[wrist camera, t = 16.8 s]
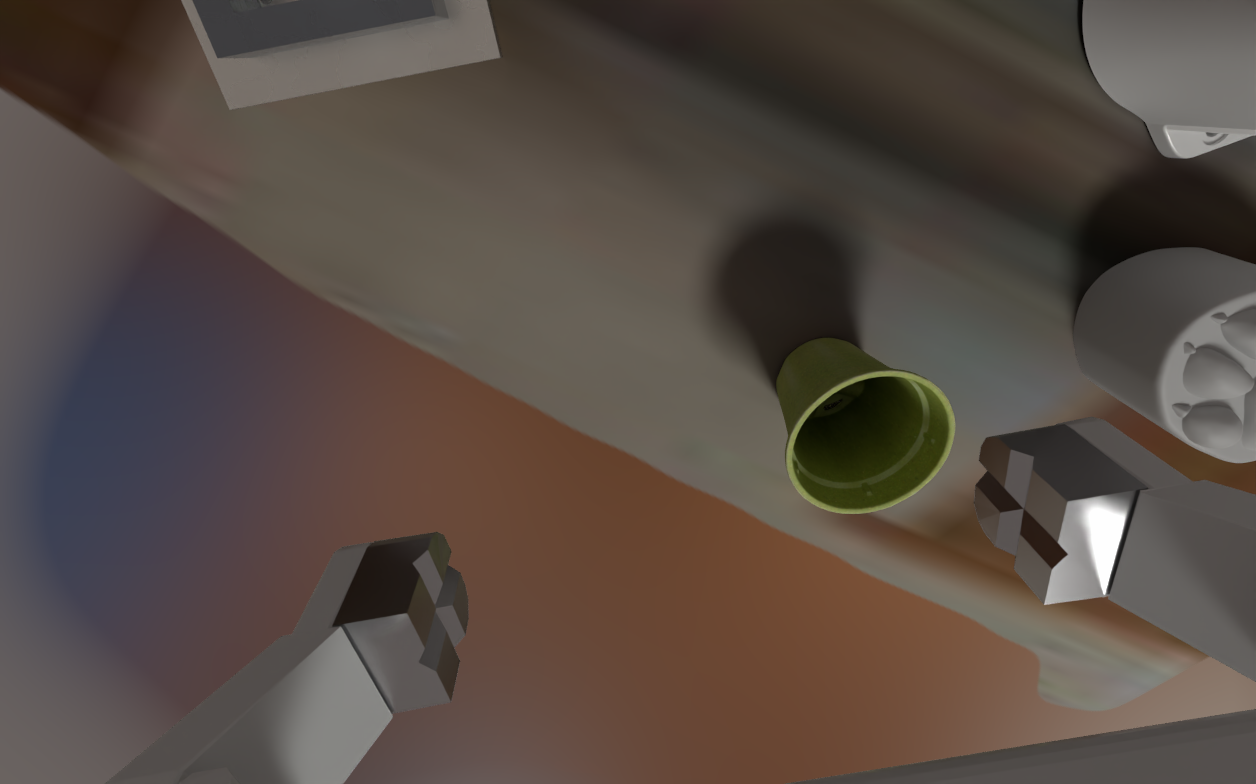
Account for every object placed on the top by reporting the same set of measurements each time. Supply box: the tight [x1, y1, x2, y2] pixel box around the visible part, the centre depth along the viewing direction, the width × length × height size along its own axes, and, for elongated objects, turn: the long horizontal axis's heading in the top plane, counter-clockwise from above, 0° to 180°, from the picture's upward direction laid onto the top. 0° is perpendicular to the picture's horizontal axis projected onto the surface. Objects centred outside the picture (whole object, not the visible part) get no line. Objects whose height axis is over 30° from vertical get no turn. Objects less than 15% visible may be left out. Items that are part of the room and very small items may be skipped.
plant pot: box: [776, 338, 955, 514], centre depth 38 cm, size 9×9×9 cm
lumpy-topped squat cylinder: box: [1073, 247, 1256, 463], centre depth 38 cm, size 10×13×9 cm
